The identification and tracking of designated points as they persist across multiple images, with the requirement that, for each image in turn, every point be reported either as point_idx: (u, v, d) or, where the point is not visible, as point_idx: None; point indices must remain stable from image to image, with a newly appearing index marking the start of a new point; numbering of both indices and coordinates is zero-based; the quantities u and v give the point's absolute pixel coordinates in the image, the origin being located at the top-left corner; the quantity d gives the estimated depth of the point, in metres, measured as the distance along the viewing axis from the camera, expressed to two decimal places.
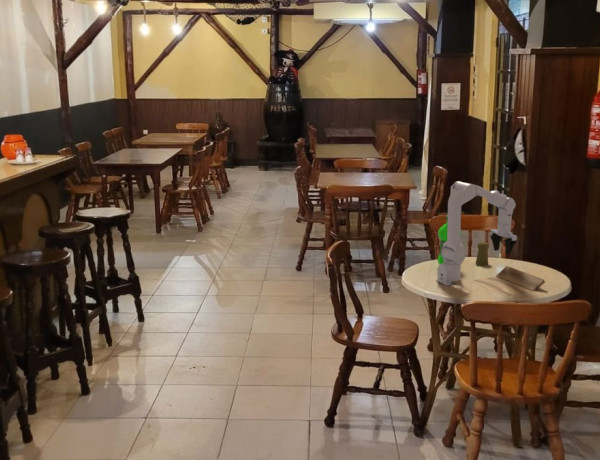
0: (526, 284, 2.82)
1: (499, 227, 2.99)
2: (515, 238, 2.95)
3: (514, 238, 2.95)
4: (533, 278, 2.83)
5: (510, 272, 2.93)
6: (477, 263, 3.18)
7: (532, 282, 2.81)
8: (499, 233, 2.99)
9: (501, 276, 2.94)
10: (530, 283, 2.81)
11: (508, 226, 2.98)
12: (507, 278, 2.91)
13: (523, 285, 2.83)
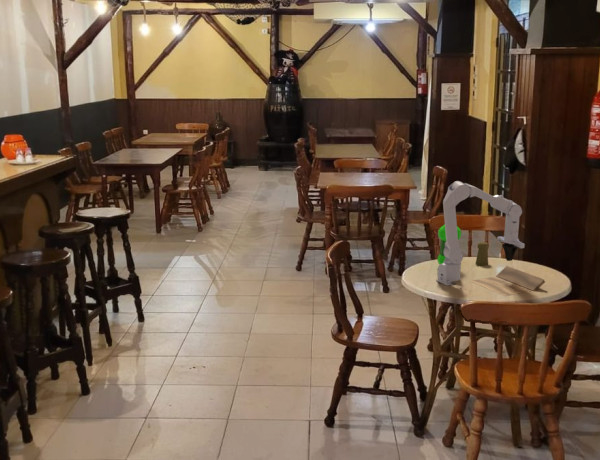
0: (526, 284, 2.82)
1: (506, 234, 2.89)
2: (523, 246, 2.85)
3: (522, 246, 2.84)
4: (533, 278, 2.83)
5: (510, 272, 2.93)
6: (477, 263, 3.18)
7: (532, 282, 2.81)
8: (506, 241, 2.89)
9: (501, 276, 2.94)
10: (530, 283, 2.81)
11: (515, 233, 2.87)
12: (507, 278, 2.91)
13: (523, 285, 2.83)
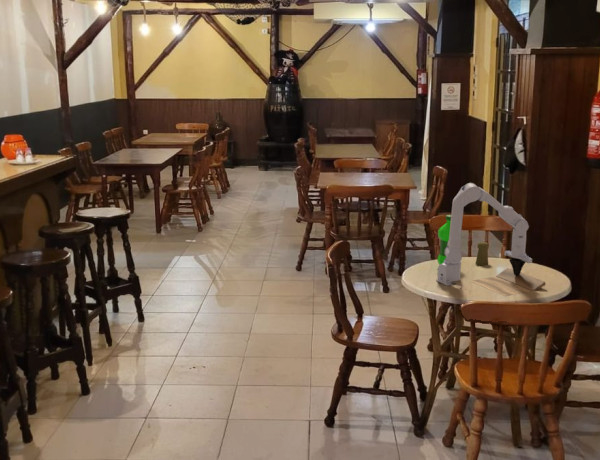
0: (526, 285, 2.82)
1: (513, 249, 2.87)
2: (530, 261, 2.83)
3: (529, 261, 2.82)
4: (534, 280, 2.83)
5: (511, 273, 2.94)
6: (477, 263, 3.18)
7: (532, 283, 2.81)
8: (513, 255, 2.87)
9: (501, 276, 2.94)
10: (530, 284, 2.81)
11: (523, 248, 2.85)
12: (507, 278, 2.91)
13: (523, 285, 2.83)
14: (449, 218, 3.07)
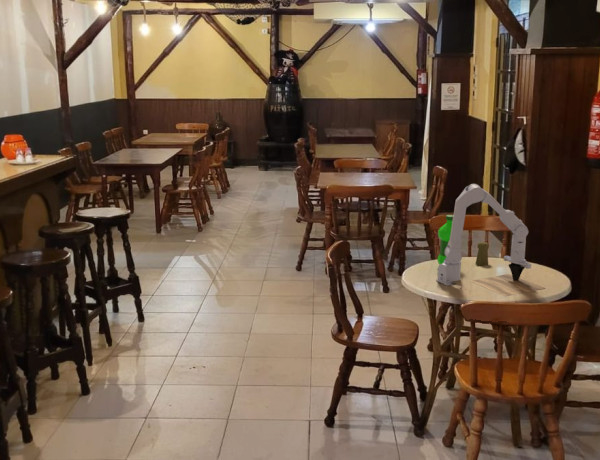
0: (526, 286, 2.82)
1: (513, 254, 2.87)
2: (529, 266, 2.83)
3: (528, 266, 2.83)
4: (534, 285, 2.84)
5: (511, 277, 2.94)
6: (477, 263, 3.18)
7: (533, 287, 2.82)
8: (513, 261, 2.87)
9: (501, 277, 2.95)
10: (531, 287, 2.82)
11: (522, 253, 2.86)
12: (507, 279, 2.92)
13: (523, 286, 2.83)
14: (449, 218, 3.07)
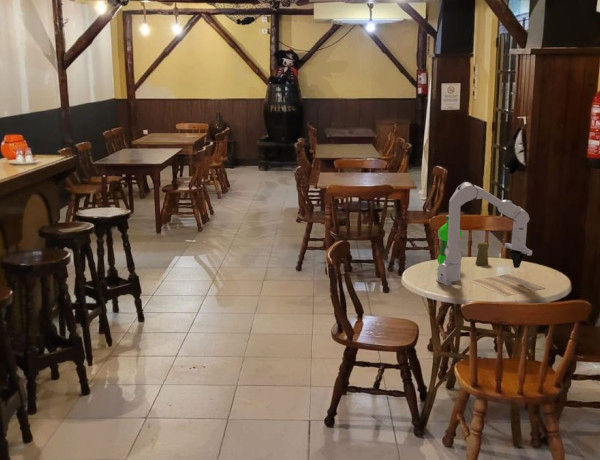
0: (526, 286, 2.82)
1: (513, 241, 2.86)
2: (530, 253, 2.82)
3: (529, 253, 2.81)
4: (534, 285, 2.84)
5: (511, 277, 2.94)
6: (477, 263, 3.18)
7: (533, 287, 2.82)
8: (513, 247, 2.86)
9: (501, 277, 2.95)
10: (531, 287, 2.82)
11: (523, 240, 2.84)
12: (507, 279, 2.92)
13: (523, 286, 2.83)
14: None
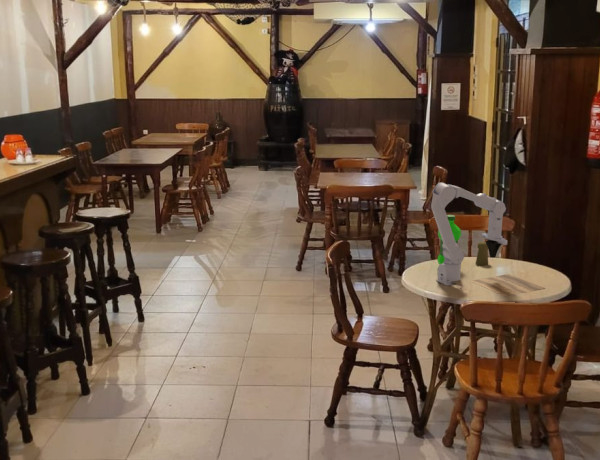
0: (526, 286, 2.82)
1: (489, 231, 2.90)
2: (506, 242, 2.86)
3: (505, 242, 2.86)
4: (534, 285, 2.84)
5: (511, 277, 2.94)
6: (477, 263, 3.18)
7: (533, 287, 2.82)
8: (489, 237, 2.91)
9: (501, 277, 2.95)
10: (531, 287, 2.82)
11: (499, 230, 2.89)
12: (507, 279, 2.92)
13: (523, 286, 2.83)
14: (449, 218, 3.07)
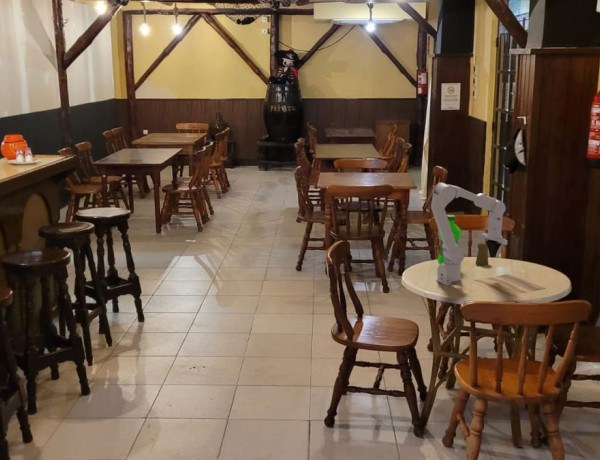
0: (526, 286, 2.82)
1: (489, 231, 2.90)
2: (506, 242, 2.86)
3: (505, 242, 2.86)
4: (534, 285, 2.84)
5: (511, 277, 2.94)
6: (477, 263, 3.18)
7: (533, 287, 2.82)
8: (489, 237, 2.91)
9: (501, 277, 2.95)
10: (531, 287, 2.82)
11: (499, 230, 2.89)
12: (507, 279, 2.92)
13: (523, 286, 2.83)
14: (449, 218, 3.07)
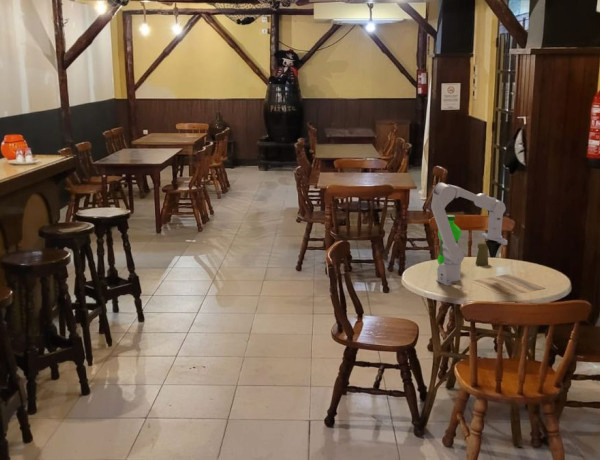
0: (526, 286, 2.82)
1: (489, 231, 2.90)
2: (506, 242, 2.86)
3: (505, 242, 2.86)
4: (534, 285, 2.84)
5: (511, 277, 2.94)
6: (477, 263, 3.18)
7: (533, 287, 2.82)
8: (489, 237, 2.91)
9: (501, 277, 2.95)
10: (531, 287, 2.82)
11: (499, 230, 2.89)
12: (507, 279, 2.92)
13: (523, 286, 2.83)
14: (449, 218, 3.07)
